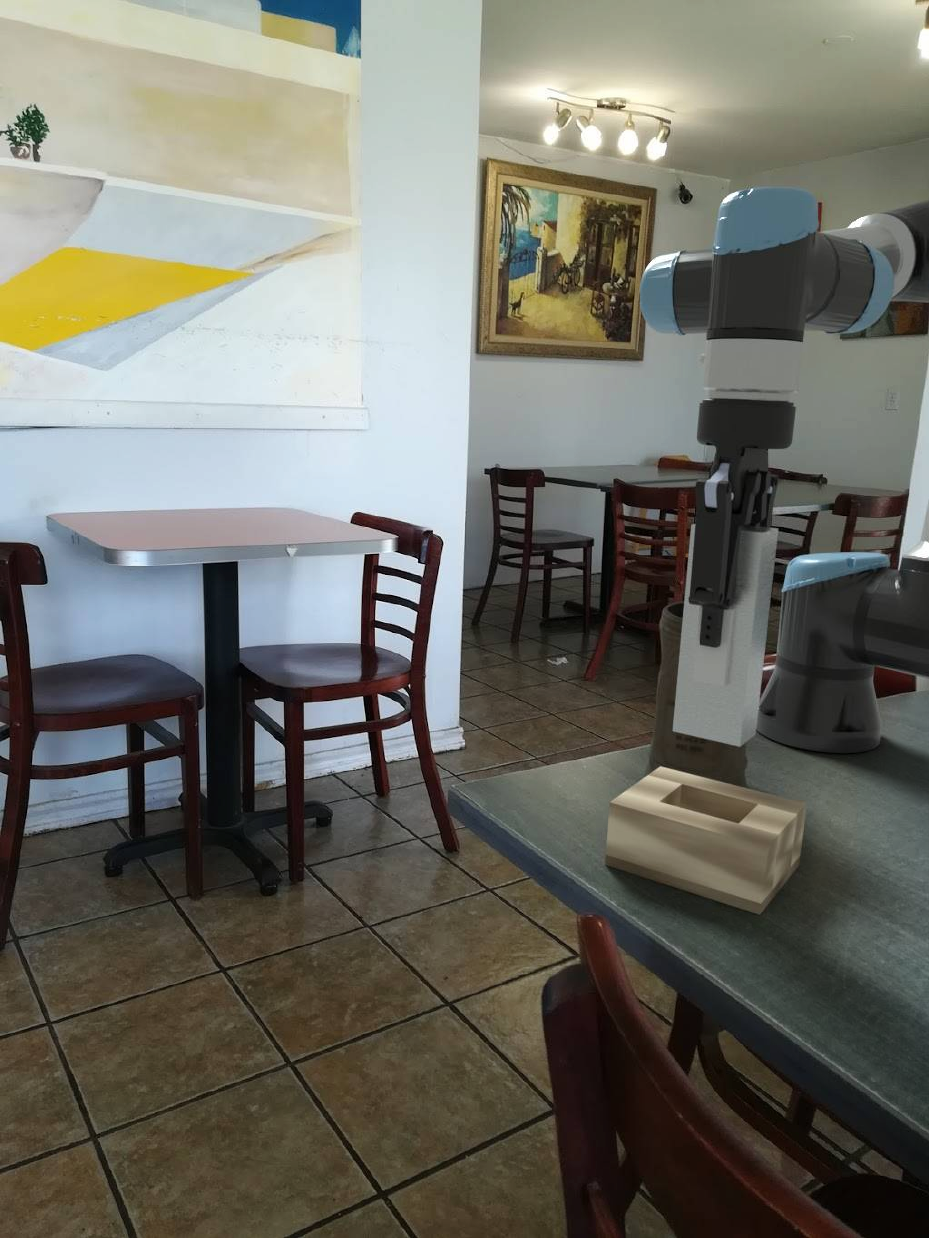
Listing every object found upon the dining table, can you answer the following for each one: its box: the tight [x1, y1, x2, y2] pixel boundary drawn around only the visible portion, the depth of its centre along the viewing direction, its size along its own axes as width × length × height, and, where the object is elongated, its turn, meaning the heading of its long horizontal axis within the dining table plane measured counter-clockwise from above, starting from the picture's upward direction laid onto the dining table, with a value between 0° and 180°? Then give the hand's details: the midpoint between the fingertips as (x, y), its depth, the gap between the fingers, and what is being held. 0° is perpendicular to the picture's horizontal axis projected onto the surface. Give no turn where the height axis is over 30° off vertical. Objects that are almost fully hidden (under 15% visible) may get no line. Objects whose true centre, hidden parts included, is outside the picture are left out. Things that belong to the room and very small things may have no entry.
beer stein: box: [643, 600, 749, 789], centre depth 105 cm, size 15×11×20 cm
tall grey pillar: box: [673, 524, 779, 747], centre depth 83 cm, size 4×6×18 cm, turn 56°
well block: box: [604, 766, 807, 916], centre depth 88 cm, size 11×14×6 cm
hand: (719, 676), depth 84 cm, fingers closed on tall grey pillar, 4 cm apart
